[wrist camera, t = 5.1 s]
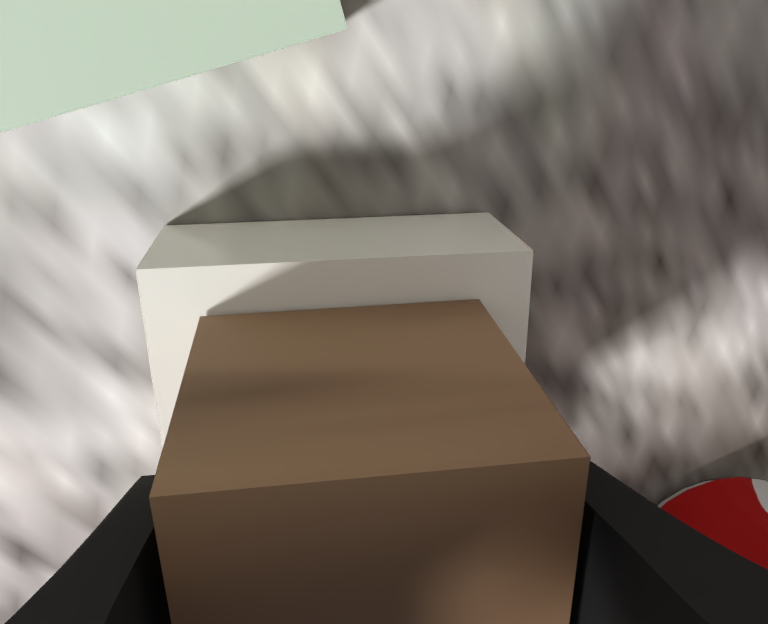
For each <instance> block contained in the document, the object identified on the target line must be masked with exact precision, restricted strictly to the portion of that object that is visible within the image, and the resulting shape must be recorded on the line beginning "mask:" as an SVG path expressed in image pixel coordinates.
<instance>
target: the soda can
mask: <svg viewBox="0 0 768 624" xmlns="http://www.w3.org/2000/svg"><path fill="white" fill-rule="evenodd" d="M658 507H659V508H661V509H663V510H664V511H666V512H667V513H669V514H671V515H672V516H674V517H675V518H677V519H679V520H680V521H682V522H683V523H685V524H687V525H688V526H690V527H692V528H693V529H695V530H697V531H699V532H700V533H702V534H704V535H705V536H707V537H709V538H710V539H712V540H714V541H716V542H717V543H719V544H721V545H722V546H724V547H726V548H728V549H730V550H731V551H733V552H735V553H737V554H739V555H741V556H742V557H744V558H746V559H748V560H750V561H752V562H754V563H756V564H758V565H760V566H762V567H764V568H766V569H768V482H767V481H765V480H760V479H752V478H744V477H733V478H724V479H716V480H711V481H703V482H701V483H698V484H695V485H692V486H689V487H686V488H684V489H682V490H680V491H679V492H677V493H675V494H674V495H672V496H670V497H668V498H667V499H665V500H663V501H662V502H661V503H660V504H659V505H658Z"/></svg>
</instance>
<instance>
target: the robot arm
mask: <svg viewBox="0 0 768 624" xmlns="http://www.w3.org/2000/svg"><path fill="white" fill-rule="evenodd" d="M154 478H155V475H149V476H141V477H140V478H139V480H138V481H137V482H136V483H135V484H134V485H133V486H132V487H131V488H130V489H129V491H128V492H127V493H126V494H125V495H124V496H123V498H122V499H121V500H120V501H119V502H118V503H117V505H116V506H115V507H114V508H113V509H112V510H111V512H110V513H109V514H108V515H107V516H106V518H105V519H104V520H103V521H102V522H101V523H100V524H99V526H98V527H97V528H96V529H95V530H94V531H93V533H92V534H91V535H90V536H89V537H88V538H87V539H86V540H85V541H84V543H83V544H82V545H81V546H80V547H79V548H78V549H77V550H76V551H75V552H74V554H73V555H72V556H71V557H70V558H69V559H68V560H67V561H66V562H65V563H64V565H63V566H62V567H61V568H60V569H59V570H58V571H57V572H56V573H55V574H54V575H53V576H52V577H51V578H50V579H49V580H48V581H47V582H46V583H45V584H44V585H43V586H42V587H41V588H40V589H39V590H38V591H37V592H36V593H35V594H34V595H33V596H32V597H31V598H30V599H29V600H28V601H27V602H26V603H25V604H24V605H23V606H22V607H21V608H20V609H19V610H18V611H17V612H16V613H15V614H14V615H13V616H12V617H11V618H10V619H9V620H8V621H7V622H6V623H5V624H171V618H170V613H169V607H168V601H167V596H166V590H165V585H164V579H163V573H162V568H161V562H160V557H159V551H158V545H157V540H156V534H155V529H154V523H153V517H152V512H151V506H150V500H149V495H150V492H151V488H152V485H153V481H154ZM569 624H768V569H766V568H764V567H762V566H760V565H758V564H756V563H754V562H752V561H750V560H748V559H746V558H744V557H742V556H741V555H739V554H737V553H735V552H733V551H731V550H730V549H728V548H726V547H724V546H722V545H721V544H719V543H717V542H716V541H714V540H712V539H710V538H709V537H707V536H705V535H704V534H702V533H700V532H699V531H697V530H695V529H693V528H692V527H690V526H688V525H687V524H685V523H683V522H682V521H680V520H679V519H677V518H675V517H674V516H672V515H671V514H669V513H667V512H666V511H664V510H663V509H661V508H659V507H658V506H656V505H655V504H653V503H652V502H650V501H649V500H647V499H646V498H644V497H643V496H641V495H640V494H638V493H637V492H635V491H634V490H632V489H631V488H629V487H628V486H626V485H625V484H623V483H622V482H620V481H619V480H617V479H616V478H614V477H613V476H612V475H610V474H609V473H607V472H606V471H604V470H603V469H601V468H600V467H598V466H597V465H596V464H594V463H593V462H591V461H590V463H589V471H588V479H587V487H586V495H585V503H584V511H583V519H582V527H581V535H580V542H579V550H578V558H577V566H576V574H575V582H574V590H573V598H572V606H571V614H570V622H569Z"/></svg>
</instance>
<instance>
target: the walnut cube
mask: <svg viewBox="0 0 768 624" xmlns="http://www.w3.org/2000/svg"><path fill="white" fill-rule="evenodd" d="M589 463H590V456H589V454H588V453H587V451H586V450H585V448H584V447H583V446H582V444H581V443H580V441H579V440H578V439H577V437H576V436H575V434H574V433H573V431H572V430H571V429H570V427H569V426H568V424H567V423H566V422H565V420H564V419H563V417H562V416H561V414H560V413H559V412H558V410H557V409H556V407H555V406H554V405H553V403H552V402H551V400H550V399H549V397H548V396H547V395H546V393H545V392H544V390H543V389H542V388H541V386H540V385H539V383H538V382H537V380H536V379H535V378H534V376H533V375H532V373H531V372H530V371H529V369H528V368H527V366H526V365H525V363H524V362H523V361H522V359H521V358H520V356H519V355H518V354H517V352H516V351H515V349H514V348H513V346H512V345H511V344H510V342H509V341H508V339H507V338H506V337H505V335H504V334H503V332H502V331H501V329H500V328H499V327H498V325H497V324H496V322H495V321H494V320H493V318H492V317H491V315H490V314H489V312H488V311H487V310H486V308H485V307H484V305H483V304H482V303H481V301H480V300H479V299H471V300H455V301H439V302H423V303H407V304H391V305H375V306H359V307H343V308H327V309H310V310H294V311H278V312H262V313H246V314H230V315H214V316H200V318H199V322H198V325H197V329H196V332H195V336H194V339H193V343H192V346H191V350H190V353H189V357H188V361H187V364H186V368H185V371H184V375H183V378H182V382H181V385H180V389H179V393H178V396H177V400H176V403H175V407H174V410H173V414H172V417H171V421H170V424H169V428H168V432H167V435H166V439H165V442H164V446H163V449H162V453H161V456H160V460H159V463H158V467H157V471H156V474H155V478H154V481H153V485H152V488H151V492H150V495H149V500H150V506H151V512H152V517H153V523H154V529H155V534H156V540H157V545H158V551H159V557H160V562H161V568H162V573H163V579H164V585H165V590H166V596H167V601H168V607H169V613H170V618H171V624H569V622H570V614H571V606H572V598H573V590H574V582H575V574H576V566H577V558H578V550H579V542H580V535H581V527H582V519H583V511H584V503H585V495H586V487H587V479H588V471H589Z"/></svg>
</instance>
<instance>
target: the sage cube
mask: <svg viewBox="0 0 768 624" xmlns="http://www.w3.org/2000/svg"><path fill="white" fill-rule="evenodd" d="M346 29H348V28H347V24H346V21H345V17H344V13H343V10H342V6H341V2H340V0H0V133H2V132H5V131H9V130H12V129H15V128H19V127H22V126H25V125H29V124H32V123H35V122H39V121H42V120H45V119H49V118H52V117H55V116H59V115H62V114H66V113H69V112H72V111H76V110H79V109H82V108H86V107H89V106H92V105H96V104H99V103H102V102H106V101H109V100H112V99H116V98H119V97H122V96H126V95H129V94H132V93H136V92H139V91H142V90H146V89H149V88H152V87H156V86H159V85H162V84H166V83H169V82H172V81H176V80H179V79H182V78H186V77H189V76H192V75H196V74H199V73H202V72H206V71H209V70H212V69H216V68H219V67H222V66H226V65H229V64H232V63H236V62H239V61H242V60H246V59H249V58H252V57H256V56H259V55H262V54H266V53H269V52H272V51H276V50H279V49H283V48H286V47H289V46H293V45H296V44H299V43H303V42H306V41H309V40H313V39H316V38H319V37H323V36H326V35H329V34H333V33H336V32H339V31H343V30H346Z"/></svg>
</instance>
